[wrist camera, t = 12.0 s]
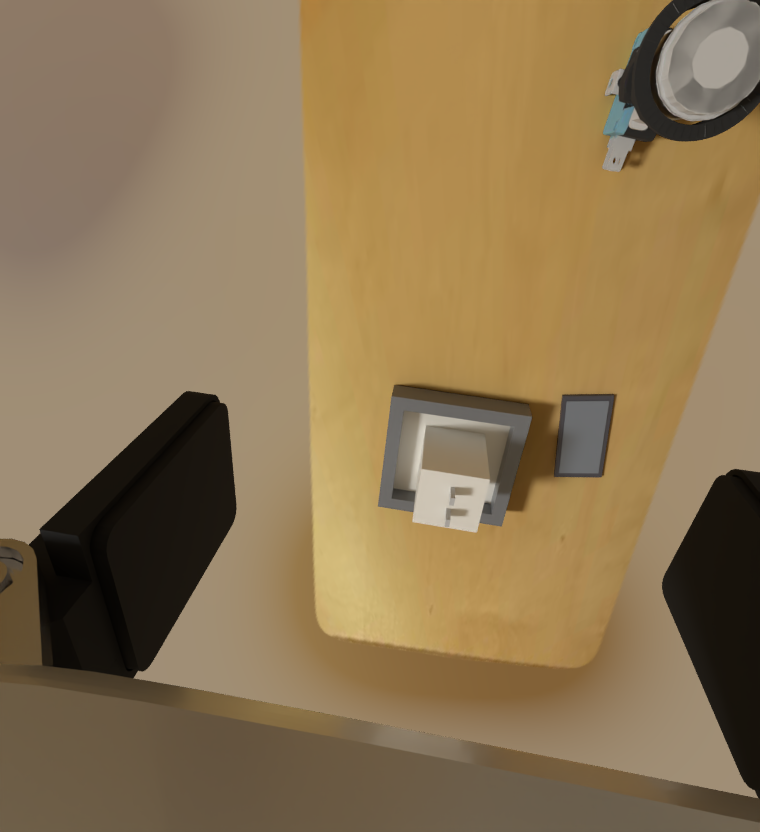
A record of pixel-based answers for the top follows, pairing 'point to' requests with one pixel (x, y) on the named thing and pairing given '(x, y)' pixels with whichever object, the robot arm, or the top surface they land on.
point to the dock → (456, 412)
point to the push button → (686, 76)
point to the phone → (583, 435)
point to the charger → (451, 479)
